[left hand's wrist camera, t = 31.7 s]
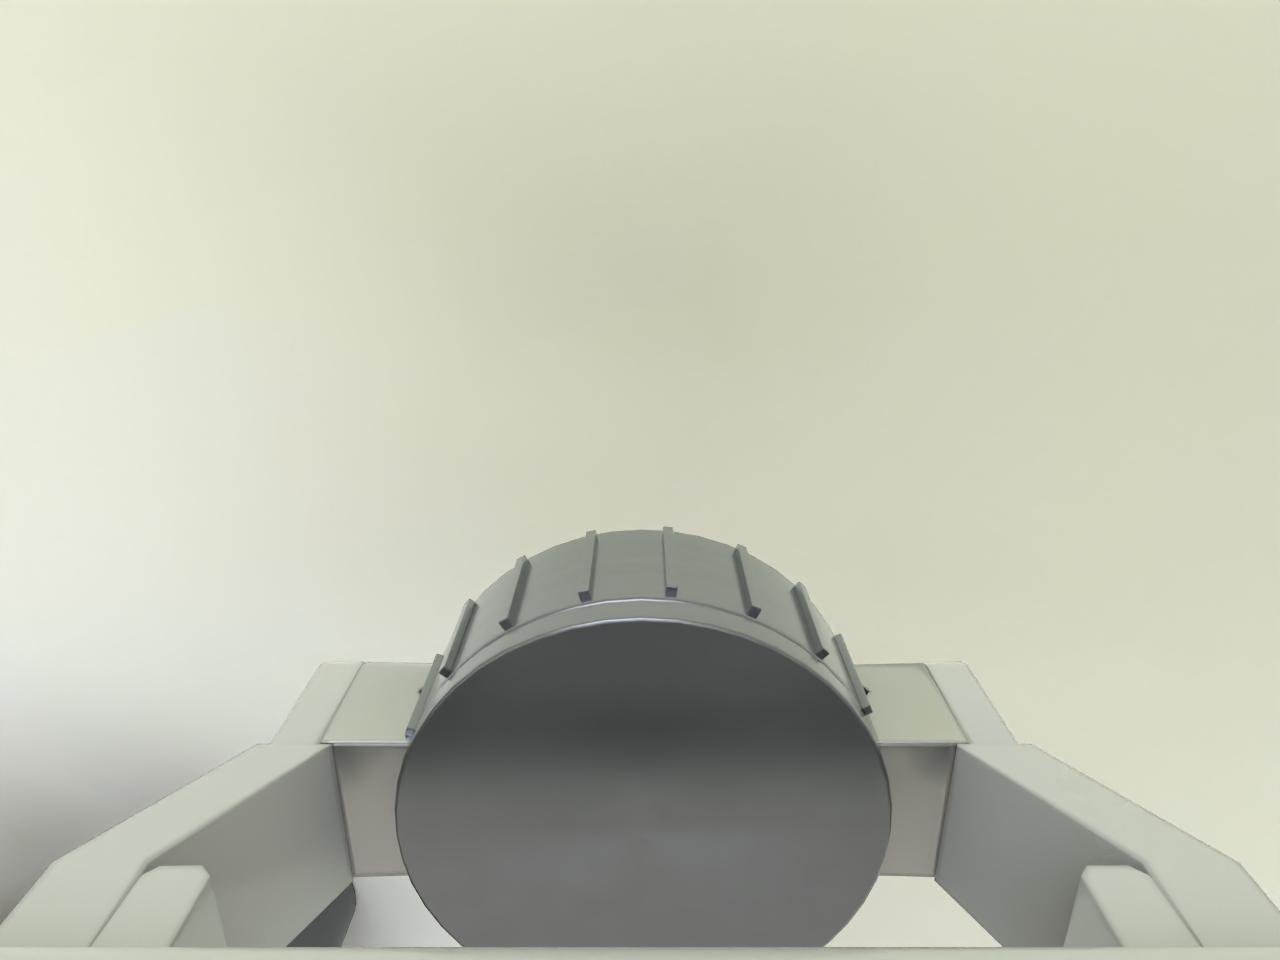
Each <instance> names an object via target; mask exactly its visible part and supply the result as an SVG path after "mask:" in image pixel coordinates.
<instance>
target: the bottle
mask: <svg viewBox="0 0 1280 960" xmlns="http://www.w3.org/2000/svg"><path fill="white" fill-rule="evenodd" d="M355 904H356V902H355V893H354V888H353V886H352V883H351V884H350V885H349V886H348V887H347V888H345V889H344V890H343V891H342V892H341V893H340V894H339V895H338V896H337V897H336V898H335V899H334V900H333V901H332V902H331V903H330V904H329V905H328V906H327V907H326V908H325V909H324V910H323V911H322V912H321V913H320V914H319V915H318V916H317V917H316V918H315V919H314V920H313V921H312V922H311V923H310V924H309V925H308V926H307V927H306V928H305V929H304V930H303V931H302V932H300V933H299V934H298V935H297V936H296V937H295V938H294V939H293V940H292V941H291V942H290V943H289V944H288V945H287V946H286V947H341V945H342V942H343V940H344V937H345V935H346V932H347V930H348V927H349V925H350V922H351V920H352V917H353V914H354V911H355Z"/></svg>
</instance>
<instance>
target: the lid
mask: <svg viewBox="0 0 1280 960" xmlns="http://www.w3.org/2000/svg"><path fill="white" fill-rule="evenodd" d="M871 713H873V710H872V708H871V705H870V703H869V701H868V698H867V696H866V693H865V691H864V688H863V686H862V683H861V681H860V679H859V676H858V674H857V671H856V669H855V666H854V664H853V661H852V659H851V656H850V654H849V652H848V649H847V647H846V644H845V642H844V639H843V637H842V635H841V634H838V635H836V636H834V635H833V633H832V631H831V629H830V627H829V626H828V624H827V623H826V621H825V620H824V618H823V617H822V615H821V614H820V613H819V611H818V610H817V608H816V607H815V606H814V604H813V603H812V602H811V601H810V598H809V596H808V593H807V590H806V588H805V586H804V585H802V584H801V583H800V582H798V583H797V584H796V585H794V584H793V583H791V582H790V581H789V580H788V579H787V578H785V577H784V576H783V575H782V574H780V573H779V572H778V571H777V570H775V569H773V568H772V567H770V566H768V565H767V564H765V563H763V562H762V561H760V560H758V559H757V558H755V557H754V556H751V555H749V554H748V553H747V549H746V547H744V546H741V545H739V544H738V545H737V546H736V548H733V547H731V546H729V545H726V544H723V543H720V542H716V541H713V540H710V539H706V538H703V537H700V536H695V535H689V534H683V533H677V532H673V528H672V527H663V531H656V530H630V531H615V532H608V533H602V534H596V531H595V530H594V531H589V532H586V537H582V538H579V539H576V540H573V541H570V542H567V543H563V544H560V545H557V546H554V547H552V548H550V549H548V550H546V551H544V552H541V553H539V554H537V555H535V556H533V557H531V558H529V559H527V558H526V556H522V557H521V558H519V559H517V562H516V565H515V568H513V569H511V570H510V571H508V572H507V573H505V574H504V575H503V576H502V577H501V578H499V579H498V580H497V581H496V582H495V583H493V584H492V585H491V586H490V587H489V588H488V589H486V590H485V591H484V593H483V594H482V595H481V596H480V597H479V598H478V599H477V600H476V601H475V602H474V601H473V600H471V599H469V600H468V601H467V602H466V603H465V605H464V607H463V610H462V613H461V615H460V618H459V620H458V623H457V626H456V628H455V631H454V633H453V635H452V637H451V639H450V642H449V644H448V646H447V648H446V650H445V653H444V655H440V654H436V656H435V659H434V661H433V664H432V666H431V669H430V671H429V674H428V676H427V679H426V681H425V684H424V686H423V689H422V691H421V694H420V696H419V699H418V701H417V704H416V706H415V709H414V711H413V713H412V716H411V718H410V721H409V723H408V726H407V729H406V732H405V735H407V736H412V738H411V740H410V743H409V745H408V748H407V750H406V753H405V755H404V759H403V762H402V766H401V770H400V773H399V777H398V780H397V788H396V797H395V807H394V808H395V824H396V835H397V839H398V844H399V848H400V852H401V857H402V861H403V863H404V866H405V868H406V870H407V873H408V875H409V878H410V880H411V883H412V885H413V886H414V888H415V890H416V891H417V893H418V895H419V897H420V898H421V900H422V902H423V903H424V905H425V906H426V908H427V909H428V910H429V911H430V913H431V914H432V915H433V916H434V918H435V919H436V920H437V921H438V923H439V924H440V925H441V926H442V927H443V928H444V929H445V930H446V931H447V932H448V933H449V934H450V935H451V936H452V937H453V938H454V939H455V940H456V941H457V942H458V943H459V944H460V945H461V946H463V947H824V946H825V945H826V944H828V943H829V942H830V941H831V940H832V939H833V938H834V937H835V936H836V935H837V934H838V933H839V932H840V931H841V930H842V929H843V928H844V927H845V926H846V925H847V924H848V923H849V921H850V920H851V919H852V918H853V916H854V915H855V914H856V912H857V911H858V910H859V908H860V907H861V906H862V905H863V903H864V902H865V900H866V898H867V896H868V894H869V893H870V891H871V889H872V887H873V886H874V884H875V882H876V880H877V878H878V875H879V872H880V870H881V867H882V864H883V862H884V859H885V856H886V852H887V847H888V842H889V837H890V832H891V818H892V800H891V792H890V784H889V777H888V774H887V771H886V768H885V764H884V761H883V758H882V754H881V751H880V749H879V746H878V744H877V741H876V739H875V736H874V734H873V732H872V729H871V726H870V723H869V721H868V718H867V716H866V715H868V714H871Z"/></svg>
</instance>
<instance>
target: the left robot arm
mask: <svg viewBox="0 0 1280 960" xmlns="http://www.w3.org/2000/svg"><path fill="white" fill-rule="evenodd" d="M432 664H433V663H387V662H367V663H364V662H327V663H324V664H322V665H320V666H319V667H318V668H317V670H316V672H315V673H314V675H313V676H312V678H311V680H310V681H309V683H308V684H307V686H306V687H305V689H304V691H303V692H302V694H301V695H300V697H299V699H298V700H297V702H296V703H295V705H294V707H293V708H292V710H291V711H290V713H289V715H288V716H287V718H286V719H285V721H284V723H283V724H282V726H281V727H280V729H279V731H278V732H277V734H276V735H275V737H274V739H273V740H272V742H271V743H270V744H257V745H255V746H253V747H252V748H250V749H248V750H246V751H245V752H243V753H241V754H239V755H238V756H236V757H234V758H232V759H231V760H229V761H227V762H225V763H224V764H222V765H220V766H218V767H217V768H215V769H213V770H211V771H210V772H208V773H206V774H205V775H203V776H201V777H199V778H198V779H196V780H194V781H192V782H191V783H189V784H187V785H185V786H184V787H182V788H180V789H178V790H177V791H175V792H173V793H171V794H170V795H168V796H166V797H164V798H163V799H161V800H159V801H157V802H156V803H154V804H152V805H151V806H149V807H147V808H145V809H144V810H142V811H140V812H138V813H137V814H135V815H133V816H131V817H130V818H128V819H126V820H124V821H123V822H121V823H119V824H117V825H116V826H114V827H112V828H110V829H109V830H107V831H105V832H103V833H102V834H100V835H98V836H96V837H95V838H93V839H91V840H90V841H88V842H86V843H84V844H83V845H81V846H79V847H77V848H76V849H74V850H72V851H70V852H69V853H67V854H65V855H63V856H62V857H60V858H58V859H56V860H55V861H53V862H52V863H51V864H50V865H49V866H48V868H47V869H46V870H45V871H44V872H43V874H42V875H41V876H40V877H39V878H38V880H37V881H36V882H35V883H34V885H33V886H32V887H31V888H30V889H29V891H28V892H27V893H26V894H25V895H24V897H23V898H22V899H21V900H20V901H19V903H18V904H17V905H16V906H15V907H14V909H13V910H12V911H11V912H10V914H9V915H8V916H7V917H6V918H5V920H4V921H3V922H2V923H1V924H0V960H1280V911H1279V909H1278V908H1277V907H1276V906H1275V905H1274V904H1273V902H1272V901H1271V900H1270V899H1269V898H1268V896H1267V895H1266V894H1265V893H1264V892H1263V890H1262V889H1261V888H1260V887H1259V886H1258V884H1257V883H1256V882H1255V881H1254V880H1253V878H1252V877H1251V876H1250V875H1249V874H1248V872H1247V871H1246V870H1245V869H1244V868H1243V866H1242V865H1241V864H1240V863H1239V862H1237V861H1235V860H1233V859H1232V858H1230V857H1228V856H1226V855H1225V854H1223V853H1221V852H1219V851H1217V850H1216V849H1214V848H1212V847H1210V846H1209V845H1207V844H1205V843H1203V842H1202V841H1200V840H1198V839H1196V838H1195V837H1193V836H1191V835H1189V834H1188V833H1186V832H1184V831H1182V830H1181V829H1179V828H1177V827H1175V826H1174V825H1172V824H1170V823H1168V822H1167V821H1165V820H1163V819H1161V818H1160V817H1158V816H1156V815H1154V814H1153V813H1151V812H1149V811H1147V810H1146V809H1144V808H1142V807H1140V806H1139V805H1137V804H1135V803H1133V802H1132V801H1130V800H1128V799H1126V798H1125V797H1123V796H1121V795H1119V794H1118V793H1116V792H1114V791H1112V790H1111V789H1109V788H1107V787H1105V786H1104V785H1102V784H1100V783H1098V782H1097V781H1095V780H1093V779H1091V778H1090V777H1088V776H1086V775H1084V774H1083V773H1081V772H1079V771H1077V770H1076V769H1074V768H1072V767H1070V766H1069V765H1067V764H1065V763H1063V762H1061V761H1060V760H1058V759H1056V758H1054V757H1053V756H1051V755H1049V754H1047V753H1046V752H1044V751H1042V750H1040V749H1039V748H1037V747H1035V746H1033V745H1032V744H1018V743H1017V741H1016V740H1015V738H1014V737H1013V735H1012V734H1011V732H1010V730H1009V729H1008V727H1007V726H1006V724H1005V723H1004V721H1003V720H1002V718H1001V717H1000V715H999V713H998V712H997V710H996V709H995V707H994V706H993V704H992V703H991V701H990V700H989V698H988V697H987V695H986V693H985V692H984V690H983V689H982V687H981V686H980V684H979V683H978V681H977V680H976V678H975V676H974V675H973V673H972V672H971V670H970V669H969V667H968V666H967V665H966V664H964V663H962V662H961V661H955V662H927V663H908V664H862V665H854V666H855V669H856V671H857V674H858V676H859V679H860V681H861V683H862V686H863V688H864V691H865V693H866V696H867V698H868V701H869V703H870V705H871V708H872V710H873V713H871V714H868V715H866V716H867V718H868V721H869V723H870V726H871V729H872V732H873V734H874V736H875V739H876V741H877V744H878V746H879V749H880V751H881V754H882V758H883V761H884V764H885V768H886V771H887V774H888V777H889V784H890V792H891V800H892V818H891V832H890V837H889V842H888V847H887V852H886V856H885V859H884V862H883V864H882V867H881V870H880V872H879V875H886V876H922V877H935V881H936V882H937V883H938V884H939V885H940V886H941V887H942V888H943V889H944V890H945V891H946V892H947V893H948V894H949V895H950V896H951V897H952V898H953V899H954V900H955V901H956V902H957V903H958V904H959V905H960V906H961V907H963V908H964V909H965V910H966V911H967V912H968V913H969V914H970V915H971V916H972V917H973V918H974V919H975V920H976V921H977V922H978V923H979V924H980V925H981V926H982V927H983V928H984V929H985V930H986V931H987V932H988V933H989V934H990V935H991V936H992V937H993V938H994V939H995V940H996V941H998V942H999V943H1000V944H1001V945H1002V946H1003V947H286V946H287V945H288V944H289V943H290V942H291V941H292V940H293V939H294V938H295V937H296V936H297V935H298V934H299V933H300V932H302V931H303V930H304V929H305V928H306V927H307V926H308V925H309V924H310V923H311V922H312V921H313V920H314V919H315V918H316V917H317V916H318V915H319V914H320V913H321V912H322V911H323V910H324V909H325V908H326V907H327V906H328V905H329V904H330V903H331V902H332V901H333V900H334V899H335V898H336V897H337V896H338V895H339V894H340V893H341V892H342V891H343V890H344V889H345V888H347V887H348V886H349V885H350V884H351V883H352V882H353V877H365V876H400V875H408V873H407V870H406V868H405V866H404V863H403V861H402V857H401V852H400V848H399V844H398V839H397V835H396V824H395V808H394V807H395V797H396V788H397V780H398V777H399V773H400V770H401V766H402V762H403V759H404V755H405V753H406V750H407V748H408V745H409V743H410V740H411V738H412V736H407V735H405V732H406V729H407V726H408V723H409V721H410V718H411V716H412V713H413V711H414V709H415V706H416V704H417V701H418V699H419V696H420V694H421V691H422V689H423V686H424V684H425V681H426V679H427V676H428V674H429V671H430V669H431V666H432Z"/></svg>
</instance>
